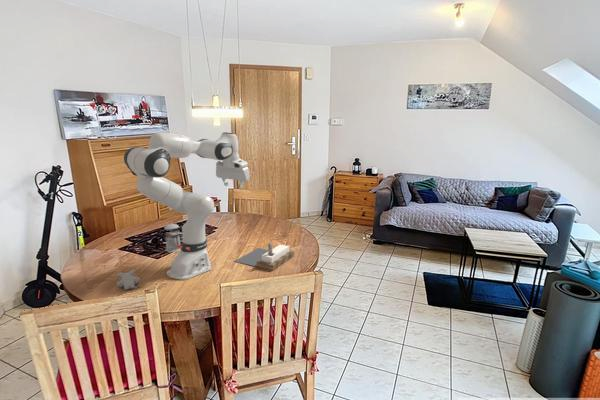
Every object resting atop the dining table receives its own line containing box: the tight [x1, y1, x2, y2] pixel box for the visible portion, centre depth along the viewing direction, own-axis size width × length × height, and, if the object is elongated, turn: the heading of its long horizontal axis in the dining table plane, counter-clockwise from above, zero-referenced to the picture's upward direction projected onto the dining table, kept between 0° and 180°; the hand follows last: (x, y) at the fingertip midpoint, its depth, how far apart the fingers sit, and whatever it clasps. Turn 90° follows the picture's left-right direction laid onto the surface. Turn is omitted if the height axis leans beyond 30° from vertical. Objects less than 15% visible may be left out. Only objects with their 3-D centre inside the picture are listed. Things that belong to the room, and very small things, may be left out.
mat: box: [234, 247, 268, 267], centre depth 189 cm, size 22×13×1 cm, turn 152°
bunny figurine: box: [116, 269, 141, 291], centre depth 158 cm, size 10×5×15 cm
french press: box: [163, 207, 182, 253], centre depth 198 cm, size 10×12×25 cm
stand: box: [256, 242, 295, 272], centre depth 182 cm, size 22×10×12 cm, turn 152°
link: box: [262, 244, 290, 263], centre depth 182 cm, size 18×6×3 cm, turn 152°
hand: (233, 186), depth 190 cm, fingers open, 8 cm apart
